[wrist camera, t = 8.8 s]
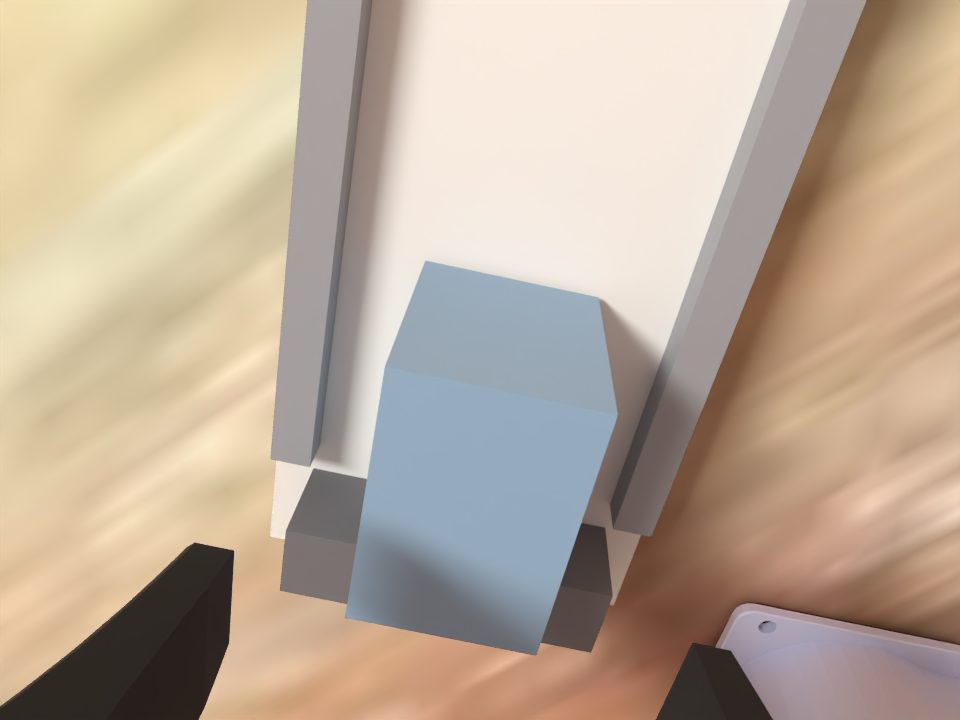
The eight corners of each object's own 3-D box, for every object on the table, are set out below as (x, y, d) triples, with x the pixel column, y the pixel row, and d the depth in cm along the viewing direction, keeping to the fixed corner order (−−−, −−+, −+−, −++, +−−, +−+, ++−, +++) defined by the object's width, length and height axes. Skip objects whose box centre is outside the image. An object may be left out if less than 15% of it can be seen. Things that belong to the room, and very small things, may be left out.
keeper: (598, 297, 17) (618, 415, 13) (537, 501, 20) (536, 655, 16) (425, 260, 17) (384, 365, 13) (388, 471, 20) (345, 617, 16)
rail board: (1000, -470, 12) (1184, -640, 9) (609, 568, 23) (621, 678, 20) (393, -620, 12) (332, -858, 8) (286, 502, 23) (239, 602, 19)
